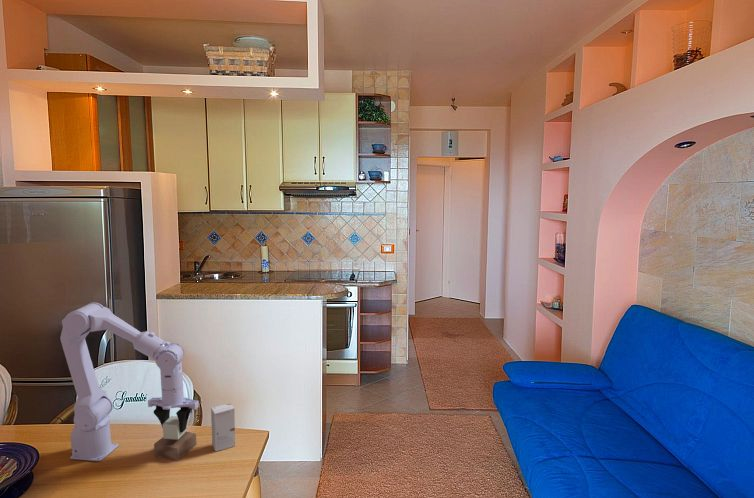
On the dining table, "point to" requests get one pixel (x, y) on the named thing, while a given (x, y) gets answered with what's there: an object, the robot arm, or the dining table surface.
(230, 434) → the skincare box
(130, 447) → the dining table surface
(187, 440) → the walnut block
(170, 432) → the sage cube
